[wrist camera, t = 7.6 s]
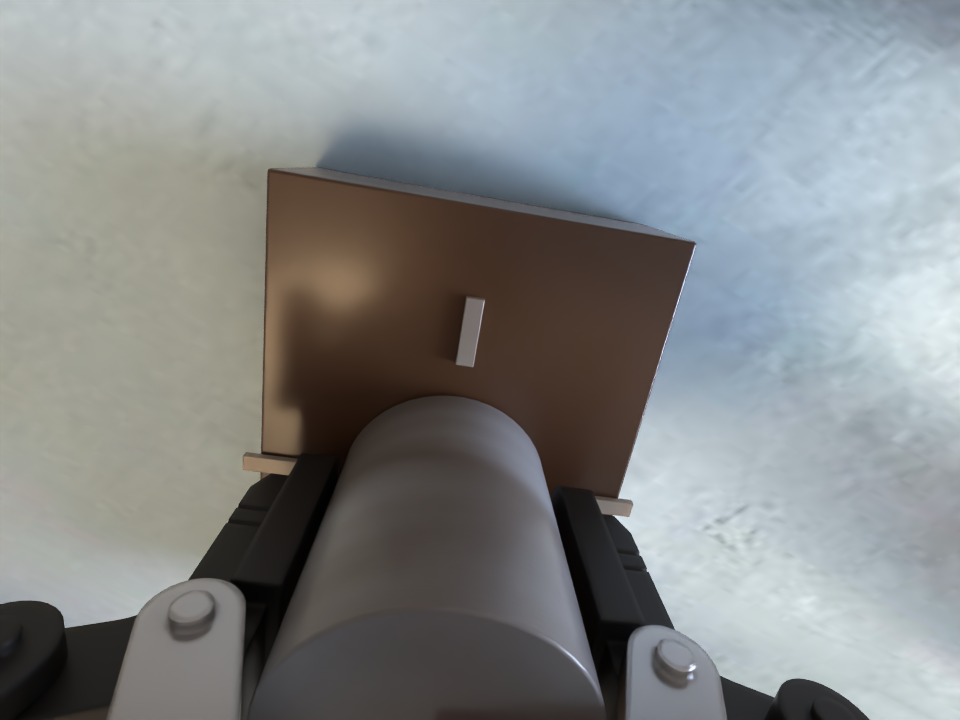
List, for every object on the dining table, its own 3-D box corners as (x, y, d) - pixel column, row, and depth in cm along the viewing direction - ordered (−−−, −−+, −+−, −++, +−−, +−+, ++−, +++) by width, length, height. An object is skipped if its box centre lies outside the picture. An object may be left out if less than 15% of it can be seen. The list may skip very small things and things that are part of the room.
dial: (343, 559, 12) (247, 881, 7) (342, 387, 11) (216, 624, 5) (530, 567, 12) (583, 883, 7) (555, 401, 11) (649, 640, 5)
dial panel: (299, 164, 12) (244, 165, 9) (657, 227, 13) (717, 246, 10) (281, 573, 16) (240, 666, 13) (552, 601, 17) (571, 695, 14)
